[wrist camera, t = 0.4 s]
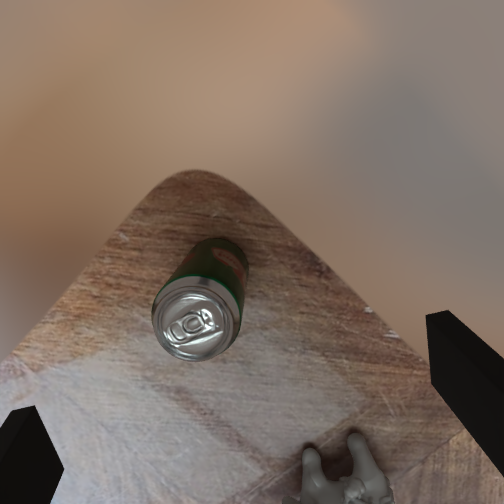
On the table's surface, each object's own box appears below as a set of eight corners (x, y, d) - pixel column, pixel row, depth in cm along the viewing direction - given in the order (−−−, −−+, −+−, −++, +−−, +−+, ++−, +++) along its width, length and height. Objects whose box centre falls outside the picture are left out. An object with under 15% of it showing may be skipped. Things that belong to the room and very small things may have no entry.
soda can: (260, 279, 35) (257, 343, 23) (206, 307, 35) (176, 383, 24) (229, 225, 34) (210, 263, 22) (174, 255, 35) (128, 307, 23)
